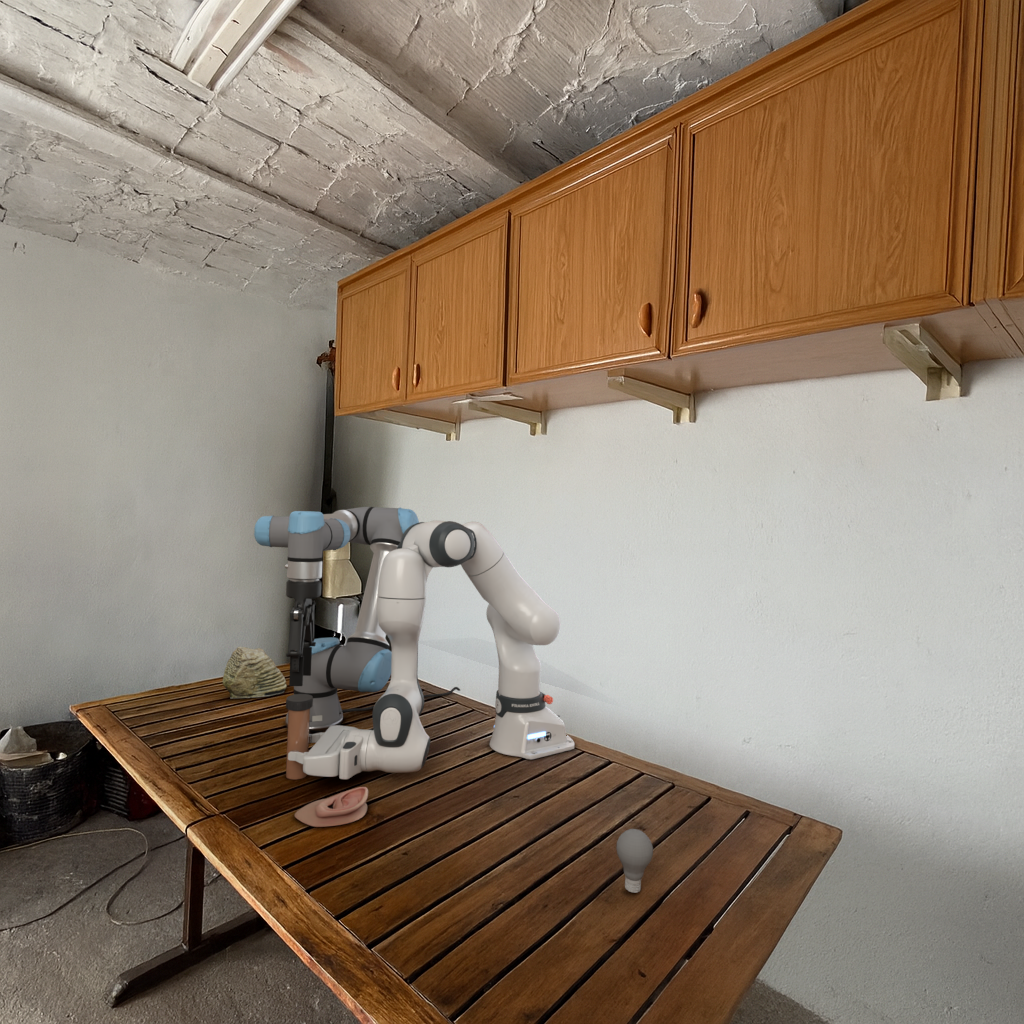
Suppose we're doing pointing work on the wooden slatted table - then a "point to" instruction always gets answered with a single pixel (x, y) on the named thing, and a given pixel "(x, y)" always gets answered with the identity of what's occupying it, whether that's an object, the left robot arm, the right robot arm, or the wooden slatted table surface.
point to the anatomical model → (335, 809)
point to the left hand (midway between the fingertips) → (300, 680)
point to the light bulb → (634, 857)
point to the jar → (297, 741)
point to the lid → (299, 702)
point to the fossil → (252, 674)
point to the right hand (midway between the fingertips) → (296, 746)
